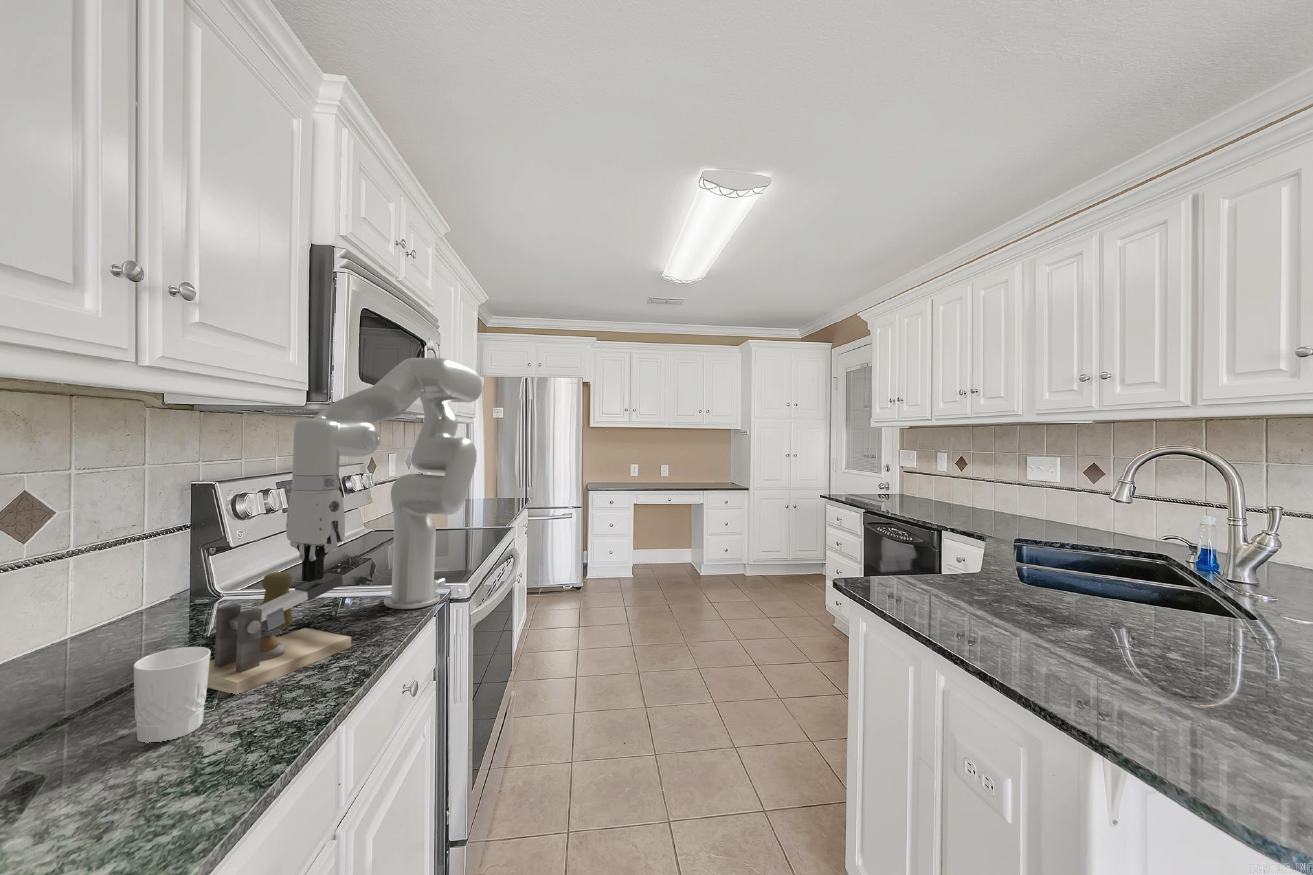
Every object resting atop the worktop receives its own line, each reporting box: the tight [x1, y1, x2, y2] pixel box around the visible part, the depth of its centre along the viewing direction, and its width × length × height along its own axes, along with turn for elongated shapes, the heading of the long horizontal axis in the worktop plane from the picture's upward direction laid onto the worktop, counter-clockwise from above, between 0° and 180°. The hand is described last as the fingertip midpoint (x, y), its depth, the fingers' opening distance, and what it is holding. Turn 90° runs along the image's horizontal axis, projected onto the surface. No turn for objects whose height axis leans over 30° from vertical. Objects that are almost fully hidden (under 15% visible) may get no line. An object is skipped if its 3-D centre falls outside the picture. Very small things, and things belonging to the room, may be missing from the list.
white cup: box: [133, 646, 212, 744], centre depth 74 cm, size 8×8×10 cm
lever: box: [229, 572, 344, 632], centre depth 98 cm, size 19×4×4 cm, turn 162°
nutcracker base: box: [207, 603, 352, 696], centre depth 96 cm, size 21×12×12 cm, turn 162°
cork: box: [262, 571, 294, 630], centre depth 114 cm, size 6×6×11 cm
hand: (312, 579), depth 102 cm, fingers closed
